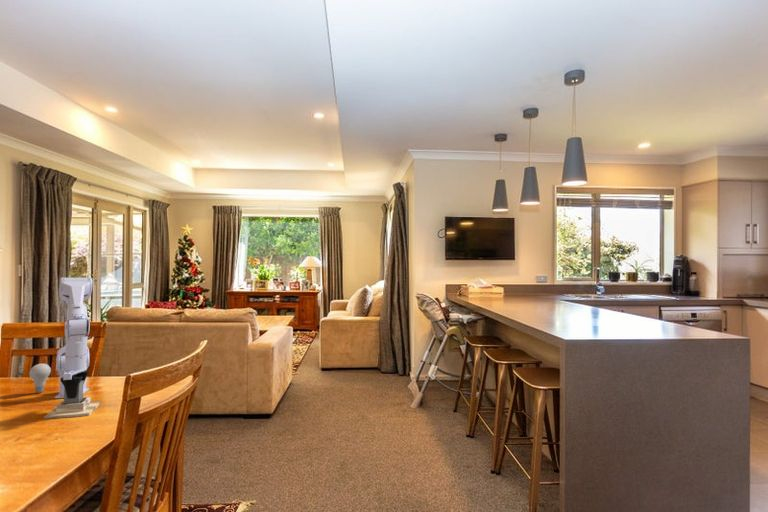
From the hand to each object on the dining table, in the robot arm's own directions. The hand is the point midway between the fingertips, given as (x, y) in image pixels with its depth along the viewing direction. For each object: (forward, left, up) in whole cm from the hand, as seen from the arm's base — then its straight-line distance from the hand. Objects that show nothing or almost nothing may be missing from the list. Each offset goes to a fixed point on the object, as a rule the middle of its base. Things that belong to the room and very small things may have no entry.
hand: (74, 395), depth 133 cm
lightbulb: (-26, -19, -5) cm, 33 cm away
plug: (0, 0, -2) cm, 2 cm away
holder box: (0, 0, -5) cm, 5 cm away
